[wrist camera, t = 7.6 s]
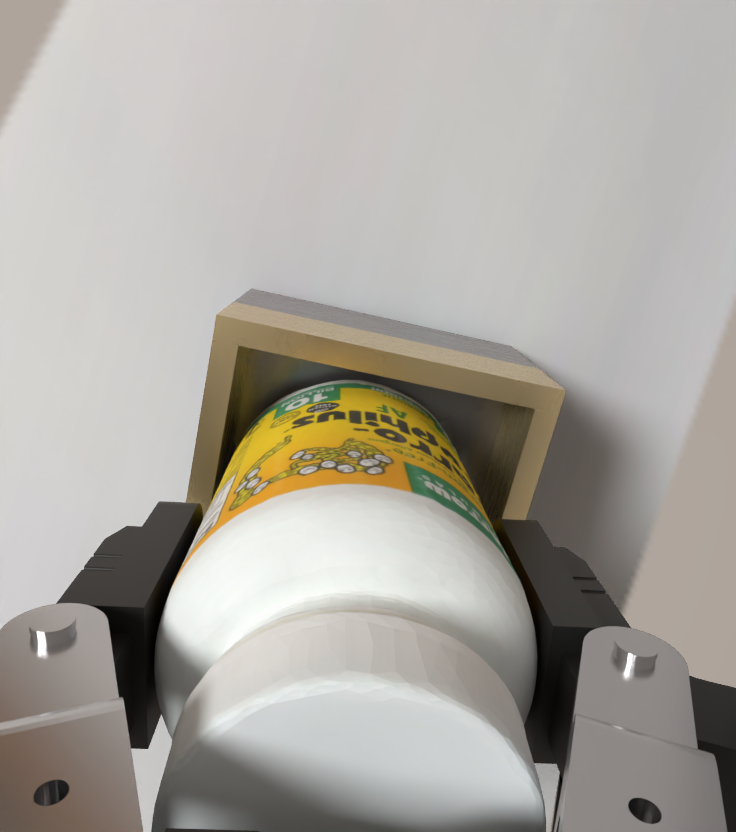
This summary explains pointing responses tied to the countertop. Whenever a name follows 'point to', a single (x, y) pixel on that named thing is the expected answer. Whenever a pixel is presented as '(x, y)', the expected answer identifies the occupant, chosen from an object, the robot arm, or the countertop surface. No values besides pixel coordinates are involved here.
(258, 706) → the supplement bottle
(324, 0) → the countertop surface
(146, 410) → the countertop surface
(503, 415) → the tan and grey box
